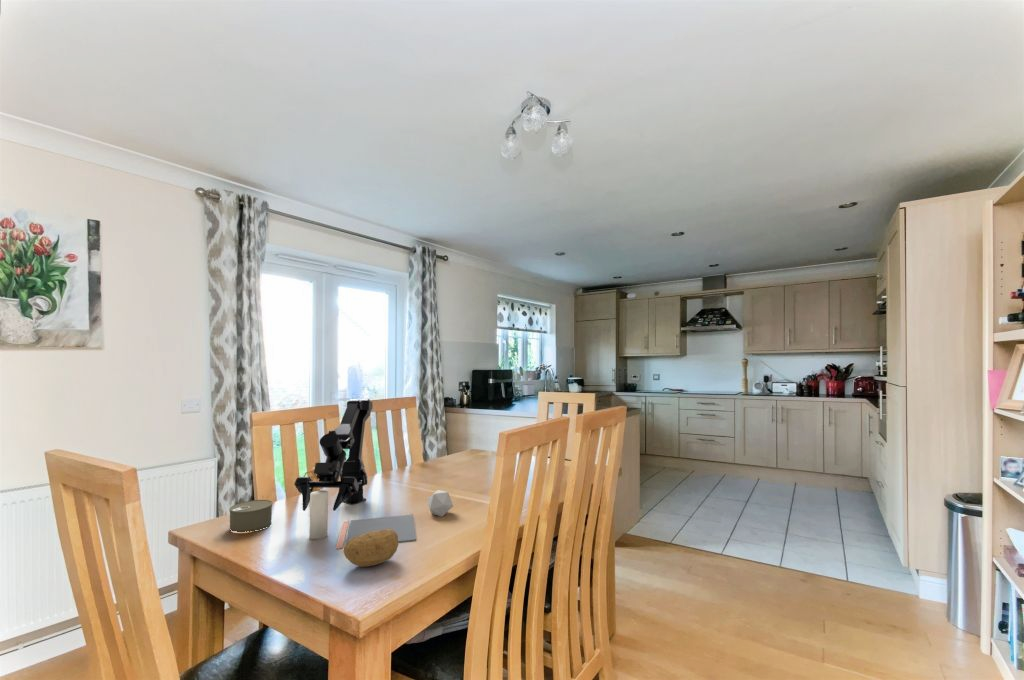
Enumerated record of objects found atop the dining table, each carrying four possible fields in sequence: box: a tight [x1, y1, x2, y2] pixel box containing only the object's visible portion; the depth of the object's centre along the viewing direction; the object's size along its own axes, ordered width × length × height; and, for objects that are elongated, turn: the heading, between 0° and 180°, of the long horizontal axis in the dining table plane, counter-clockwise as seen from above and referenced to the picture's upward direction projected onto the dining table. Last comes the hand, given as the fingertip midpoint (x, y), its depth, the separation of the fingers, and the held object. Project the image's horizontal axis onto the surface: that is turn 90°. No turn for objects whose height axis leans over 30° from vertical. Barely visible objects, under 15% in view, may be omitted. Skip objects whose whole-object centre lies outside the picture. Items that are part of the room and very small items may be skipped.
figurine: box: [303, 465, 321, 493], centre depth 176 cm, size 8×6×12 cm
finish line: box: [335, 520, 350, 550], centre depth 137 cm, size 22×2×1 cm, turn 15°
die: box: [426, 489, 454, 518], centre depth 155 cm, size 8×9×10 cm
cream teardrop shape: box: [309, 489, 329, 540], centre depth 136 cm, size 5×5×13 cm
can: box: [229, 499, 273, 532], centre depth 144 cm, size 12×12×7 cm
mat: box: [344, 514, 418, 546], centre depth 140 cm, size 20×22×1 cm
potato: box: [342, 529, 399, 568], centre depth 117 cm, size 10×14×8 cm
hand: (318, 510), depth 136 cm, fingers open, 9 cm apart
